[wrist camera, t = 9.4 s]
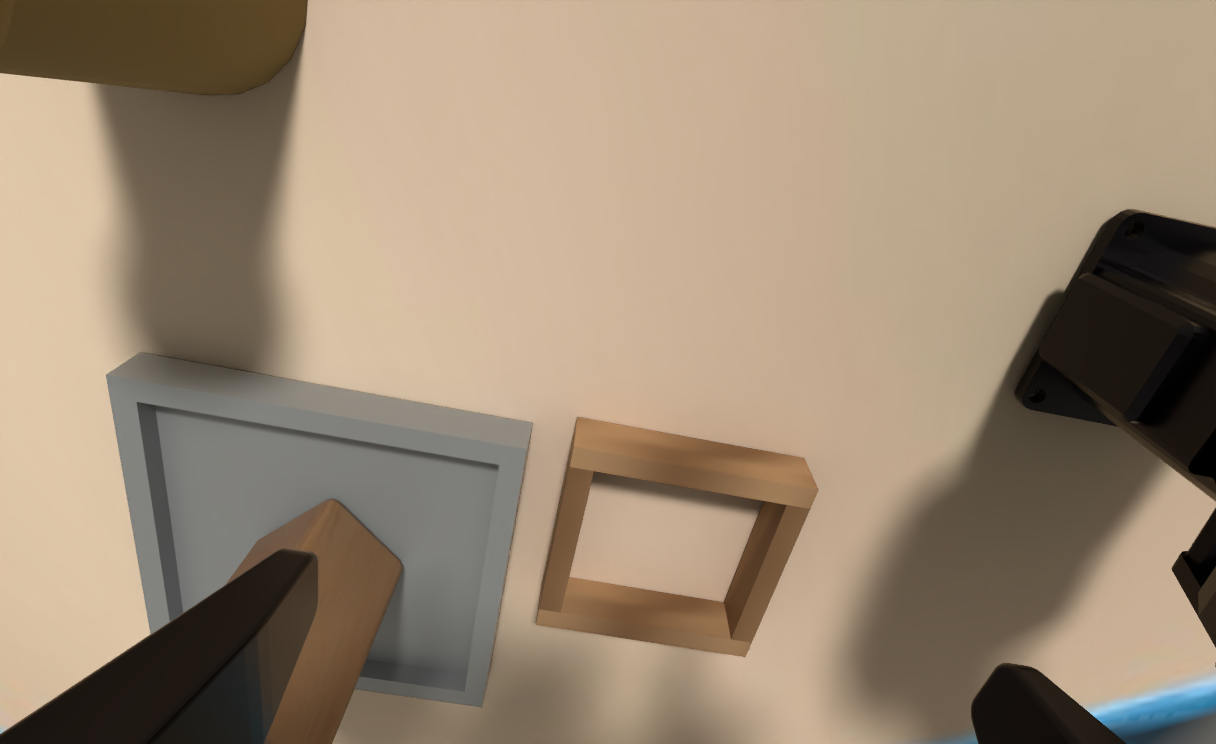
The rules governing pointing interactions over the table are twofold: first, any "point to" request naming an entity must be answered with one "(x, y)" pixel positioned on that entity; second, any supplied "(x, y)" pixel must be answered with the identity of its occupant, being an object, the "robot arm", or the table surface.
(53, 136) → the table surface
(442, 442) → the slate tray
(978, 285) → the table surface
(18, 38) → the olive pawn piece
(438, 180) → the table surface
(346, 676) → the wooden block
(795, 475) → the walnut collar
